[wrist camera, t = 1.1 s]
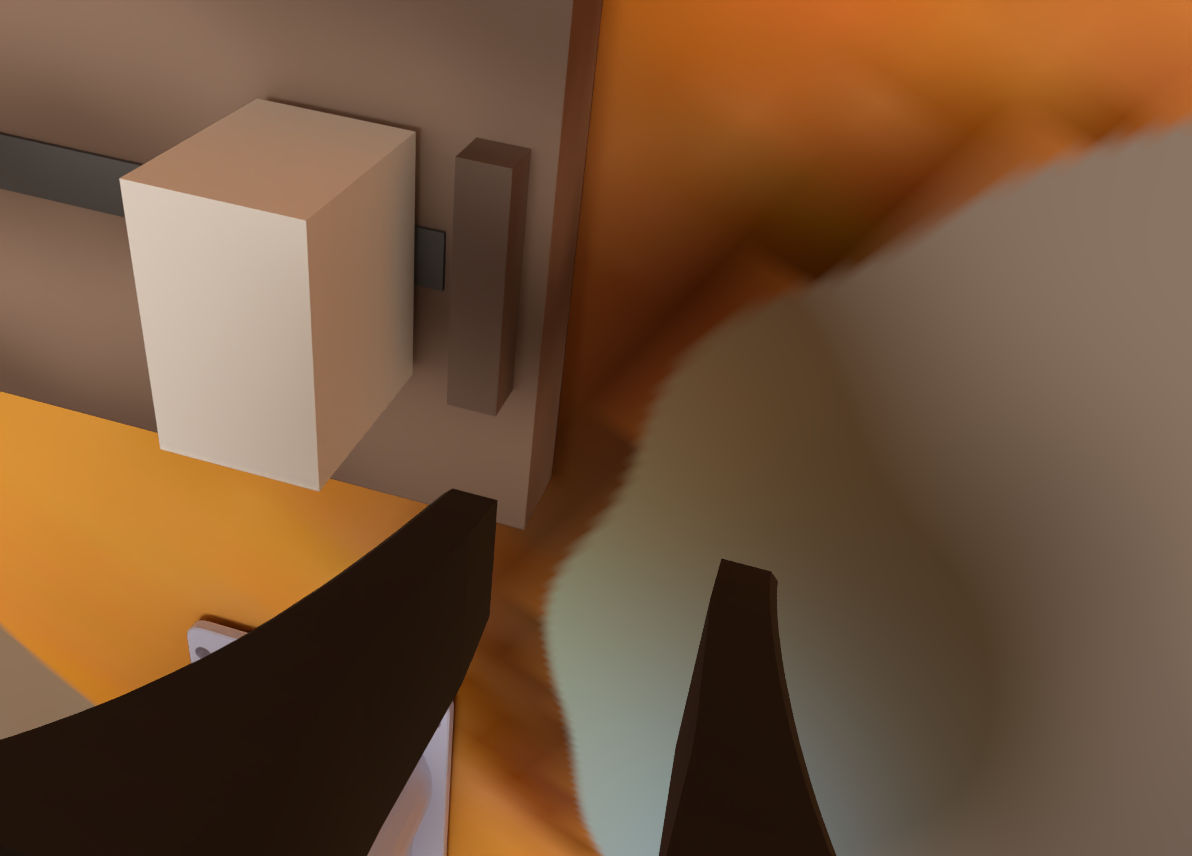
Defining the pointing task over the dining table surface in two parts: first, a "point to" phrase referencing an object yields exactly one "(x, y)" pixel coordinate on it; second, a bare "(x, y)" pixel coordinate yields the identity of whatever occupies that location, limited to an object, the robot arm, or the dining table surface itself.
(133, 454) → the dining table surface
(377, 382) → the fader tab
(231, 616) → the dining table surface
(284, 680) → the robot arm
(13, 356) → the slotted base plate
